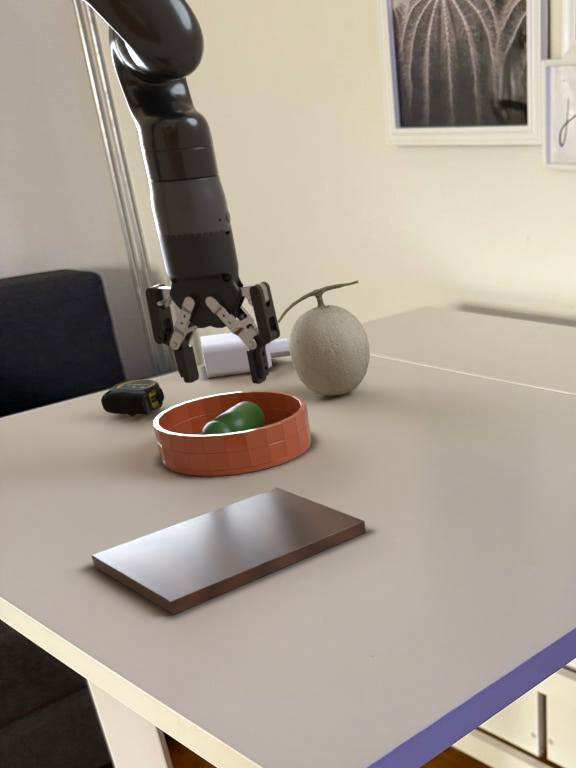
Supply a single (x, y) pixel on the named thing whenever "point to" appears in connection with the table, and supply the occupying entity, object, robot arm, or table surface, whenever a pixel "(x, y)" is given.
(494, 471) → the table surface
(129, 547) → the board
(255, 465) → the bowl
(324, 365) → the fruit
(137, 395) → the tape measure
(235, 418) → the cucumber
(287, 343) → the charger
